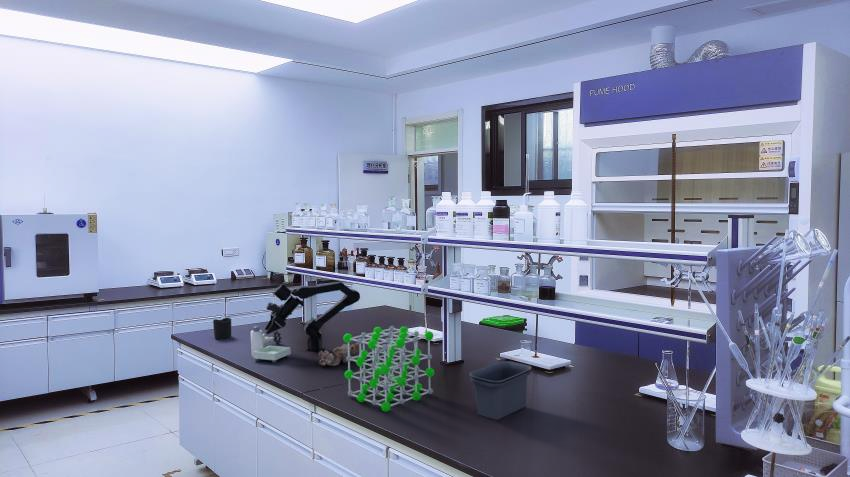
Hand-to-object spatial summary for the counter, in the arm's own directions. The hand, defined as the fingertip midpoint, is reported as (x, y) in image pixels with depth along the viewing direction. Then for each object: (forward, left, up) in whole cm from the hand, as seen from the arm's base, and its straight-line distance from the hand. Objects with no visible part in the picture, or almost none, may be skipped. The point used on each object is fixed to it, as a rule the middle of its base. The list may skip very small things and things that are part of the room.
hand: (266, 331), depth 277 cm
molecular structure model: (-83, +35, -11) cm, 90 cm away
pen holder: (+46, -22, -11) cm, 53 cm away
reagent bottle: (+3, +3, -11) cm, 12 cm away
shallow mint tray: (-8, +6, -11) cm, 15 cm away
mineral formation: (-41, 0, -11) cm, 43 cm away
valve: (+11, -15, -11) cm, 22 cm away
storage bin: (-125, +36, -11) cm, 130 cm away
